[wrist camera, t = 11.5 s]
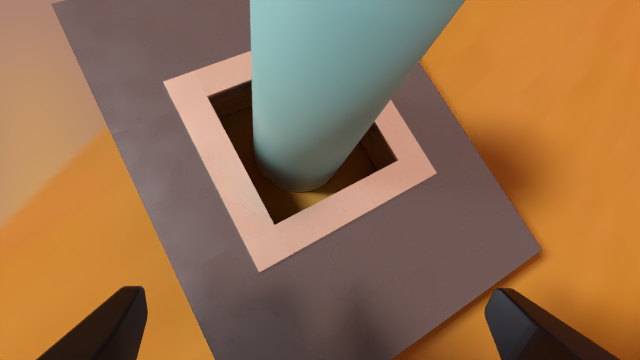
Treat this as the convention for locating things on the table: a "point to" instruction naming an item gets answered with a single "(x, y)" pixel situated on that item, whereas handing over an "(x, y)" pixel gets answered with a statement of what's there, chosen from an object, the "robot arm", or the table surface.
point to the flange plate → (309, 224)
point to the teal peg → (329, 77)
